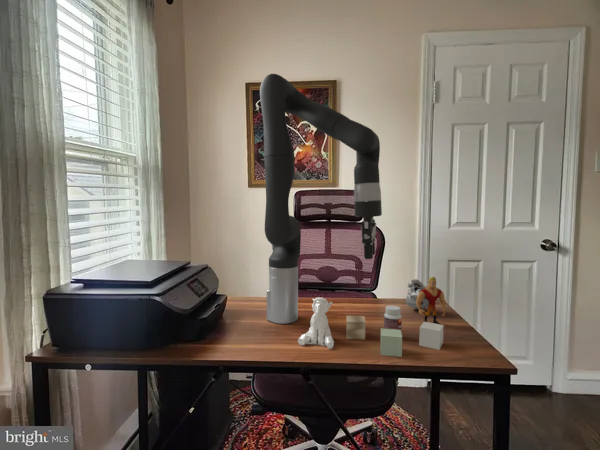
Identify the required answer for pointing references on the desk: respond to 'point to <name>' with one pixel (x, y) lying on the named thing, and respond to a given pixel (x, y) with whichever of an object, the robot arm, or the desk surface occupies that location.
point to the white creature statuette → (318, 326)
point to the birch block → (355, 327)
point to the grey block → (431, 335)
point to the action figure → (431, 299)
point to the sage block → (391, 342)
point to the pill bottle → (393, 318)
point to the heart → (415, 294)
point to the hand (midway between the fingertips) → (370, 256)
